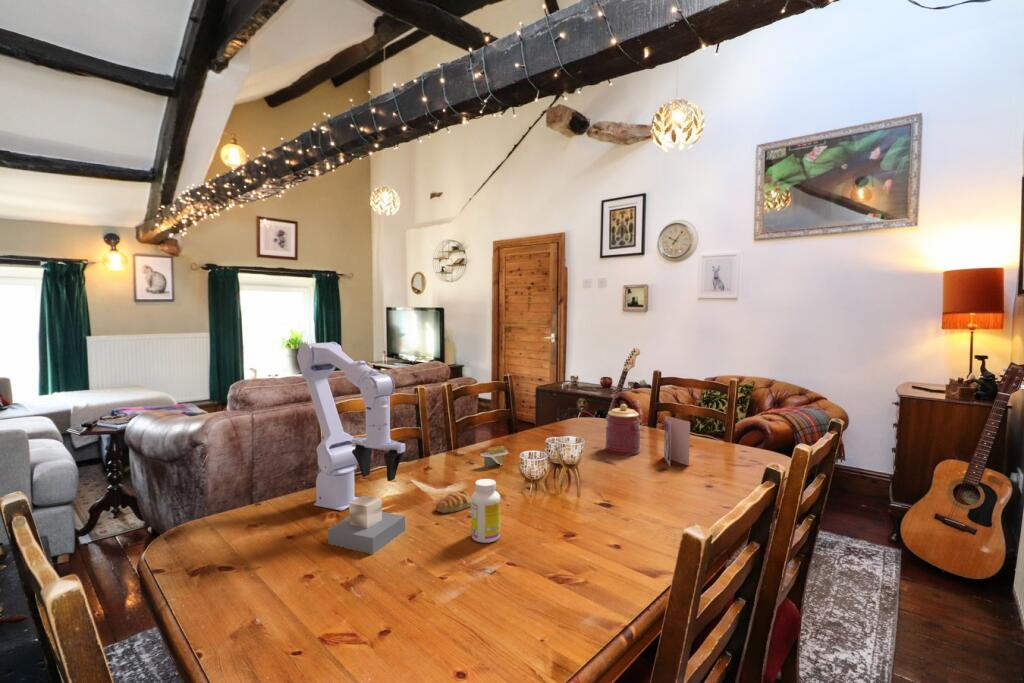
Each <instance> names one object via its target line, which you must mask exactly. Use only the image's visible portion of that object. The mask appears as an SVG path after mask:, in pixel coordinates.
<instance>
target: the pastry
mask: <svg viewBox="0 0 1024 683" xmlns="http://www.w3.org/2000/svg"><path fill="white" fill-rule="evenodd" d="M435 505H436V507H435V511H437V512H439V513H443V514H447V512H449V513H456V511H457V512H460V511H462V509H463V510H466V509H469V508H471V496H470V494H469V493H468V492H467V491H465V490H458V491H457V492H453V493H448V494H447V495H446V496H445V497H443V498H441V499H440V500H439V501H438V502H437V503H436V504H435ZM468 507H469V508H468ZM465 508H466V509H465ZM459 510H460V511H459Z"/></svg>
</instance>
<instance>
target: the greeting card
mask: <svg viewBox="0 0 1024 683" xmlns="http://www.w3.org/2000/svg"><path fill="white" fill-rule="evenodd" d="M663 423H664V424H663V425H664V439H663V440H664V446H663V447H664V448H663V450H664V451H663V458H664V460H665V461H666V463H667V464H668V467H671V460H672V461H675V462H677V463H680V464H682V465H685V466H688V467H689V466H690V447H691V446H690V443H691V442H690V441H691V422H690V421H688V420H684V419H680V418H677V417H672V416H669V415H665V416H664V420H663Z"/></svg>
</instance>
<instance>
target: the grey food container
mask: <svg viewBox="0 0 1024 683" xmlns="http://www.w3.org/2000/svg"><path fill="white" fill-rule="evenodd" d="M508 454H509V450H508V449H506V447H505V446H503V445H501V446H495V447H493V448H492V447H489V448H488V449H487V452H482V453H480V456H481V457H483V459H484V460H483V464H484V465H483V468H484V467H486V468H488V467H487V466H490V467H493V466H492V465H495V466H497V465H496V464H500V465H499V466H501V465H502V466H504V464H505V455H508ZM501 463H502V464H501ZM503 463H504V464H503Z"/></svg>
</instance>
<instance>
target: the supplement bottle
mask: <svg viewBox="0 0 1024 683" xmlns="http://www.w3.org/2000/svg"><path fill="white" fill-rule="evenodd" d="M474 485H475V487H474V488H475V491H474V492H473V493H472V494H471V496H470V498H471V506H470V509H471V510H470V511H471V512H470V516H471V517H470V519H471V521H470V524H471V526H470V527H471V528H470V529H471V530H470V531H471V538H472V539H473V540H474V541H475V542H478V543H483V544H487V543H488V544H489V543H493V542H496V541H497V540H499V538H500V536H501V495H500V493H499V492H498V491H496V489H497V488H496V487H497V482H496V480H494V479H492V478H479V479H478V480H476V481H475V484H474Z"/></svg>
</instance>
